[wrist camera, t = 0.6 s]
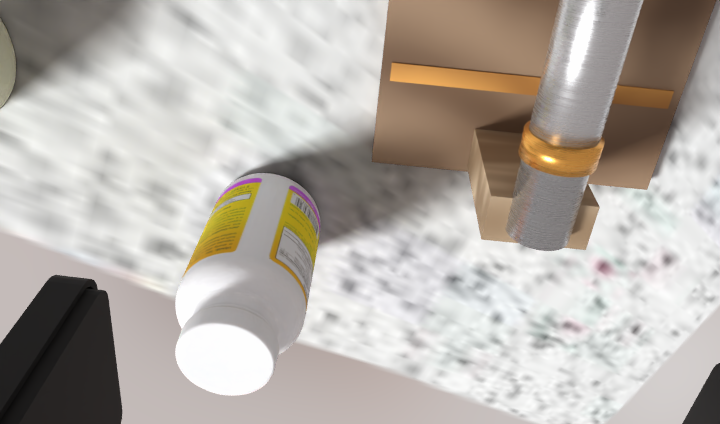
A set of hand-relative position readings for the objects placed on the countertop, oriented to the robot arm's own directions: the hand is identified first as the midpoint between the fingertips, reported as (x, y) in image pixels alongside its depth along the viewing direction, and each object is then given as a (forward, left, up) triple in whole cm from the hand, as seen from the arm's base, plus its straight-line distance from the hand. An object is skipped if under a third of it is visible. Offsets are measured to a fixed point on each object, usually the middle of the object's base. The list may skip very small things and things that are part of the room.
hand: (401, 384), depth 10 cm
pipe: (-1, +8, -21) cm, 22 cm away
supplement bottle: (+15, -6, -28) cm, 32 cm away
